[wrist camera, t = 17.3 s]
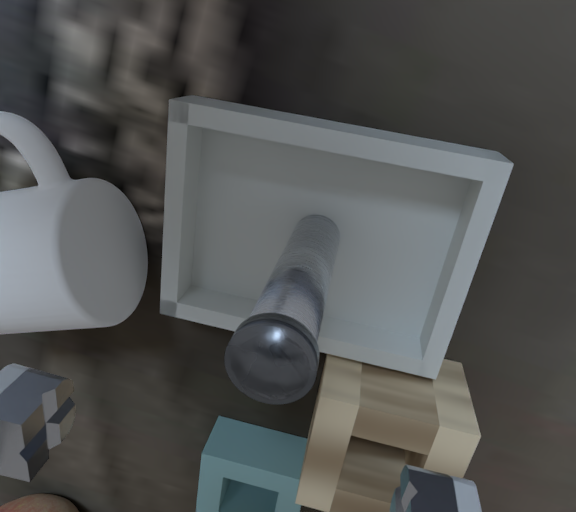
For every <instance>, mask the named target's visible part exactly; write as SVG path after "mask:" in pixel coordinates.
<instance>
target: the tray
mask: <svg viewBox="0 0 576 512" xmlns="http://www.w3.org/2000/svg"><path fill="white" fill-rule="evenodd" d="M513 165H514V163H512V162H511V161H510V160H508V159H507V158H506V157H505V156H503V155H502V154H501V153H499V152H498V151H492V150H487V149H482V148H476V147H471V146H465V145H460V144H455V143H449V142H444V141H438V140H433V139H428V138H422V137H417V136H411V135H406V134H401V133H395V132H390V131H384V130H379V129H374V128H368V127H363V126H357V125H352V124H347V123H341V122H336V121H330V120H325V119H320V118H314V117H309V116H303V115H298V114H293V113H287V112H282V111H276V110H271V109H266V108H260V107H255V106H249V105H244V104H238V103H233V102H228V101H222V100H217V99H211V98H206V97H201V96H195V95H189V96H184V97H179V98H173V99H169V108H168V131H167V154H166V177H165V201H164V224H163V247H162V270H161V293H160V314H164V315H168V316H172V317H176V318H181V319H185V320H189V321H193V322H197V323H202V324H206V325H210V326H214V327H218V328H222V329H227V330H231V331H236V329H237V327H238V326H239V325H240V324H241V323H242V322H243V321H244V320H246V319H247V318H249V316H250V314H251V312H252V310H253V308H254V306H255V305H256V303H257V301H258V299H259V297H260V295H261V293H262V291H263V289H264V287H265V285H266V283H267V281H268V279H269V277H270V275H271V273H272V271H273V269H274V267H275V265H276V263H277V262H278V260H279V258H280V256H281V254H282V252H283V250H284V248H285V246H286V244H287V242H288V240H289V238H290V236H291V234H292V232H293V230H294V228H295V226H296V225H297V223H298V222H299V221H300V220H301V219H302V218H304V217H306V216H308V215H312V214H319V215H324V216H326V217H328V218H330V219H331V220H332V221H333V222H334V223H335V224H336V225H337V227H338V229H339V232H340V242H339V247H338V251H337V256H336V260H335V265H334V269H333V274H332V278H331V282H330V287H329V291H328V296H327V300H326V305H325V309H324V314H323V318H322V323H321V327H320V332H319V336H318V341H317V344H318V347H319V352H323V353H327V354H331V355H335V356H339V357H343V358H348V359H352V360H356V361H360V362H364V363H369V364H373V365H377V366H381V367H385V368H389V369H394V370H398V371H402V372H406V373H410V374H414V375H419V376H423V377H427V378H431V379H435V380H436V378H437V376H438V373H439V370H440V367H441V364H442V362H443V359H444V356H445V353H446V351H447V348H448V345H449V342H450V340H451V337H452V334H453V331H454V329H455V326H456V323H457V320H458V317H459V315H460V312H461V309H462V306H463V304H464V301H465V298H466V295H467V293H468V290H469V287H470V284H471V281H472V279H473V276H474V273H475V270H476V268H477V265H478V262H479V259H480V257H481V254H482V251H483V248H484V246H485V243H486V240H487V237H488V234H489V232H490V229H491V226H492V223H493V221H494V218H495V215H496V212H497V210H498V207H499V204H500V201H501V198H502V196H503V193H504V190H505V187H506V185H507V182H508V179H509V176H510V174H511V171H512V168H513Z"/></svg>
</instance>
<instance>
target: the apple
mask: <svg viewBox="0 0 576 512" xmlns="http://www.w3.org/2000/svg"><path fill="white" fill-rule="evenodd" d="M0 512H79V511H78V509H77V508H76V507H75V505H74V504H73V503H72V502H70V501H69V500H67V499H66V498H63V497H60V496H57V495H53V494H42V493H40V494H32V495H28V496H24V497H21V498H18V499H16V500H13V501H10V502H8V503H6V504H4V505H2V506H1V507H0Z"/></svg>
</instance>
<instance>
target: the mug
mask: <svg viewBox="0 0 576 512" xmlns="http://www.w3.org/2000/svg"><path fill="white" fill-rule="evenodd" d="M0 135H2V136H3V137H5V138H6V139H8V140H9V141H10V142H11V143H12V144H13V145H14V146H15V147H16V148H17V149H18V150H19V152H20V153H21V154H22V156H23V157H24V158H25V160H26V162H27V163H28V165H29V167H30V168H31V170H32V172H33V174H34V176H35V178H36V180H37V182H38V186H34V187H28V188H21V189H15V190H9V191H3V192H0V334H12V333H27V332H41V331H56V330H70V329H85V328H99V327H110V326H114V325H117V324H119V323H121V322H123V321H124V320H126V319H127V318H128V317H129V316H130V315H131V314H132V313H133V311H134V310H135V309H136V307H137V305H138V304H139V302H140V300H141V297H142V295H143V292H144V288H145V284H146V279H147V271H148V253H147V245H146V239H145V235H144V231H143V228H142V225H141V222H140V219H139V217H138V215H137V213H136V211H135V209H134V207H133V205H132V204H131V202H130V201H129V200H128V198H127V197H126V196H125V195H124V194H123V192H121V191H120V190H119V189H118V188H117V187H116V186H114V185H113V184H111V183H109V182H107V181H105V180H102V179H98V178H84V179H78V180H73V179H71V178H70V177H69V175H68V172H67V170H66V168H65V166H64V164H63V162H62V160H61V158H60V156H59V154H58V153H57V151H56V149H55V148H54V146H53V145H52V143H51V142H50V140H49V139H48V138H47V137H46V135H45V134H44V133H43V132H42V131H41V130H40V129H39V128H38V127H37V126H35V125H34V124H33V123H31V122H30V121H28V120H27V119H25V118H23V117H21V116H19V115H16V114H13V113H9V112H3V111H0Z"/></svg>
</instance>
